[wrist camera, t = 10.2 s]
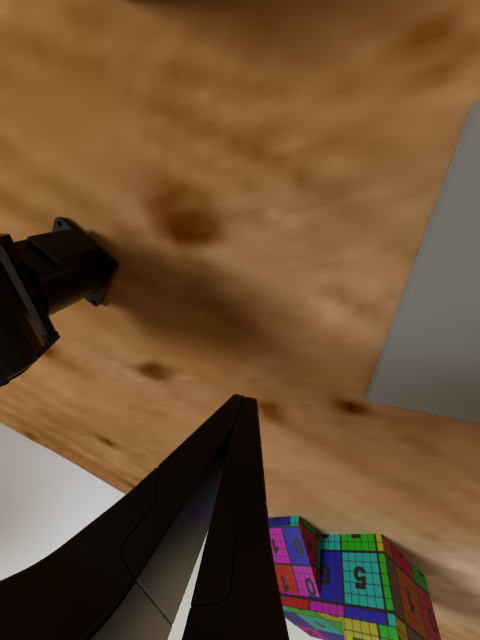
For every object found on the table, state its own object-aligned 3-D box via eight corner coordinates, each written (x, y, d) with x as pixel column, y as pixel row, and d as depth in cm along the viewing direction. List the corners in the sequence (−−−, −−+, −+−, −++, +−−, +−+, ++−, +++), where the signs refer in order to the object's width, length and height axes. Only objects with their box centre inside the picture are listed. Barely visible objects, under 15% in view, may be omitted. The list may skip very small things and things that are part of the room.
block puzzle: (357, 510, 32) (378, 704, 20) (424, 574, 35) (475, 773, 23) (232, 518, 45) (201, 638, 33) (289, 564, 48) (278, 687, 37)
